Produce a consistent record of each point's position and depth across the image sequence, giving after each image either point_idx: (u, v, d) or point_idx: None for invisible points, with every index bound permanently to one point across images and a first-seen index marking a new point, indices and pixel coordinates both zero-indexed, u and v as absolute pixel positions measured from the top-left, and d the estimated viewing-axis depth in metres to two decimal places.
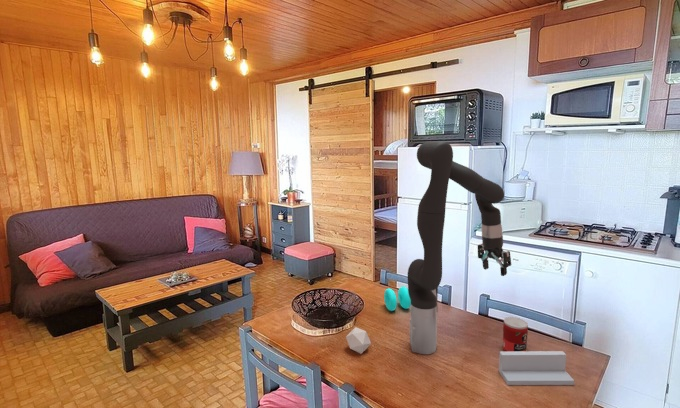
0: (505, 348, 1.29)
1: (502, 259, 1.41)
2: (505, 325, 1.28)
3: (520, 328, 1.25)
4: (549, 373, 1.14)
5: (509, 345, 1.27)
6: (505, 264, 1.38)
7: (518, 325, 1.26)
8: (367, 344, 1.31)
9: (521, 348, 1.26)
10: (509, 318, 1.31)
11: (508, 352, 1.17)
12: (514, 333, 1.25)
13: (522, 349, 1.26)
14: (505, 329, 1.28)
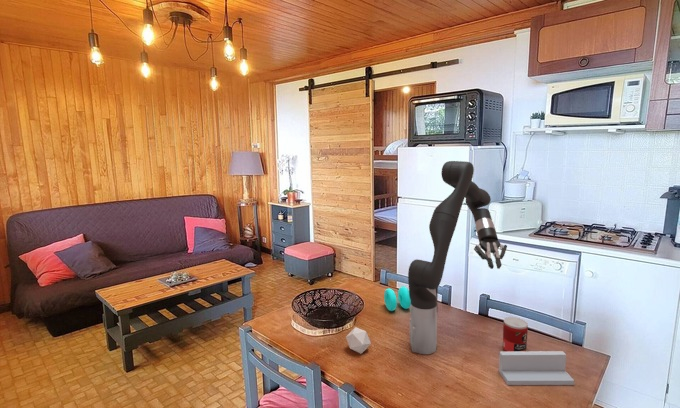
0: (505, 348, 1.29)
1: None
2: (505, 325, 1.28)
3: (520, 328, 1.25)
4: (549, 373, 1.14)
5: (509, 345, 1.27)
6: (502, 253, 1.48)
7: (518, 325, 1.27)
8: (367, 344, 1.31)
9: (521, 348, 1.26)
10: (509, 318, 1.31)
11: (508, 352, 1.17)
12: (514, 333, 1.25)
13: (522, 349, 1.26)
14: (505, 329, 1.28)
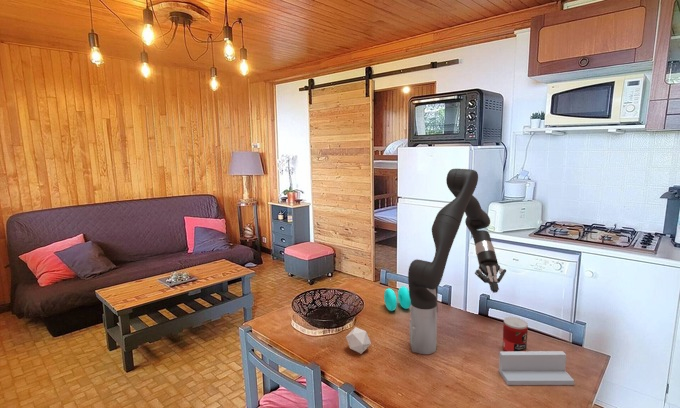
0: (505, 348, 1.29)
1: None
2: (505, 325, 1.28)
3: (520, 328, 1.25)
4: (549, 373, 1.14)
5: (509, 345, 1.27)
6: (499, 277, 1.49)
7: (518, 325, 1.27)
8: (367, 344, 1.31)
9: (521, 348, 1.26)
10: (509, 318, 1.31)
11: (508, 352, 1.17)
12: (514, 333, 1.25)
13: (522, 349, 1.26)
14: (505, 329, 1.28)
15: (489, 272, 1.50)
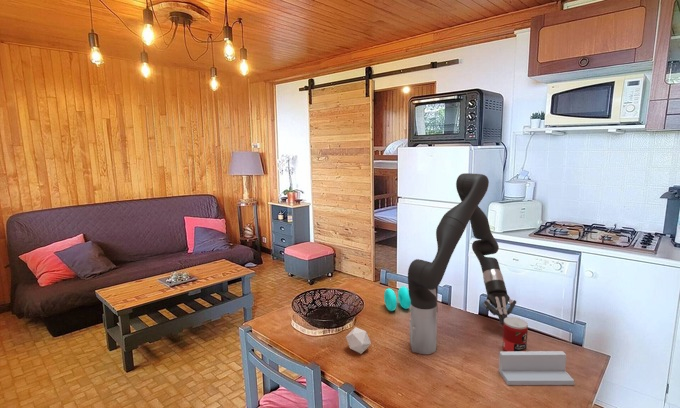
0: (505, 348, 1.29)
1: None
2: (505, 325, 1.28)
3: (520, 328, 1.25)
4: (549, 373, 1.14)
5: (509, 345, 1.27)
6: (509, 309, 1.40)
7: (518, 325, 1.27)
8: (367, 344, 1.31)
9: (521, 348, 1.26)
10: (509, 318, 1.31)
11: (508, 352, 1.17)
12: (514, 333, 1.25)
13: (522, 349, 1.26)
14: (505, 329, 1.28)
15: (498, 304, 1.41)
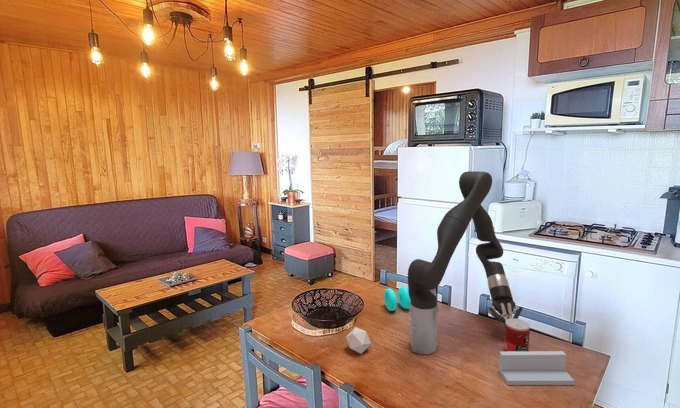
0: (507, 350, 1.28)
1: None
2: (507, 327, 1.27)
3: (522, 330, 1.23)
4: (549, 373, 1.14)
5: (510, 347, 1.26)
6: (515, 316, 1.35)
7: (520, 327, 1.25)
8: (367, 344, 1.31)
9: (523, 350, 1.25)
10: (511, 320, 1.30)
11: (508, 352, 1.17)
12: (516, 335, 1.24)
13: None
14: (507, 331, 1.27)
15: (504, 310, 1.36)
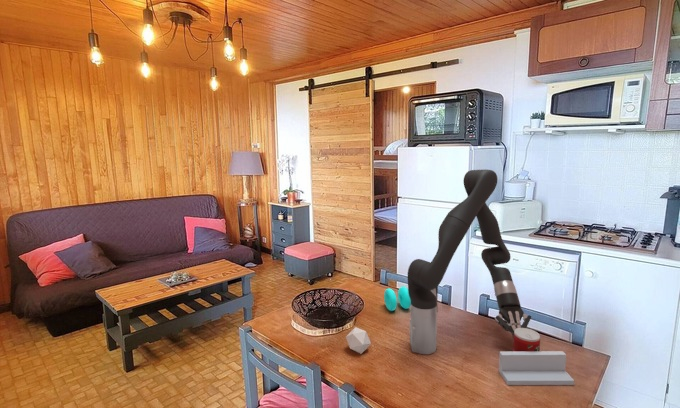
0: None
1: None
2: (516, 337, 1.20)
3: (532, 341, 1.17)
4: (549, 373, 1.14)
5: None
6: (523, 325, 1.28)
7: (530, 337, 1.19)
8: (367, 344, 1.31)
9: None
10: (519, 329, 1.23)
11: (508, 352, 1.17)
12: (526, 345, 1.17)
13: None
14: (516, 341, 1.20)
15: (511, 319, 1.29)
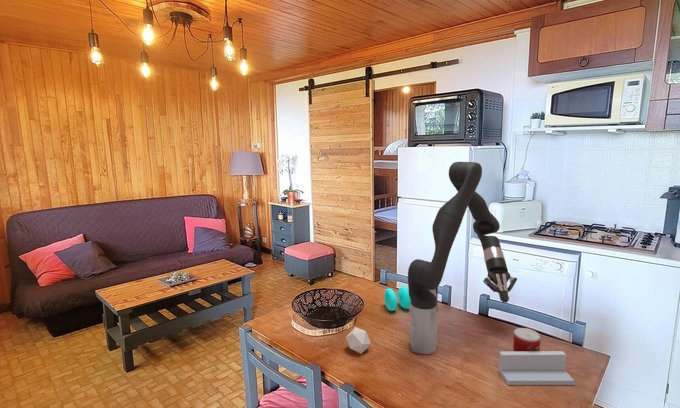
0: None
1: None
2: (516, 337, 1.20)
3: (532, 341, 1.17)
4: (549, 373, 1.14)
5: None
6: (509, 286, 1.39)
7: (530, 337, 1.19)
8: (367, 344, 1.31)
9: None
10: (519, 329, 1.23)
11: (508, 352, 1.17)
12: (526, 346, 1.17)
13: None
14: (516, 341, 1.20)
15: (499, 280, 1.40)
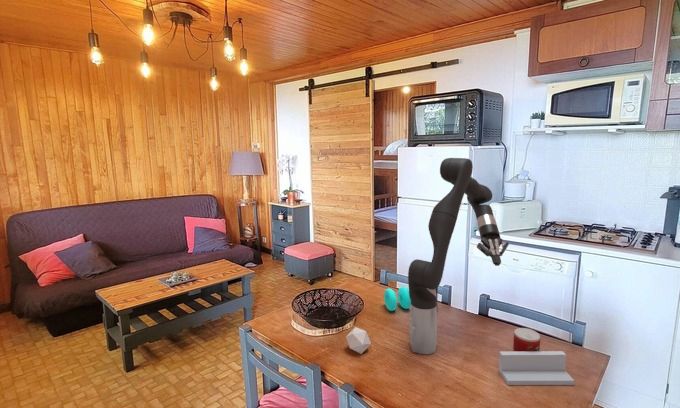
0: None
1: None
2: (516, 337, 1.20)
3: (532, 341, 1.17)
4: (549, 373, 1.14)
5: None
6: (501, 250, 1.46)
7: (530, 337, 1.19)
8: (367, 344, 1.31)
9: None
10: (520, 329, 1.23)
11: (508, 352, 1.17)
12: (526, 346, 1.17)
13: None
14: (516, 341, 1.20)
15: (491, 245, 1.47)
